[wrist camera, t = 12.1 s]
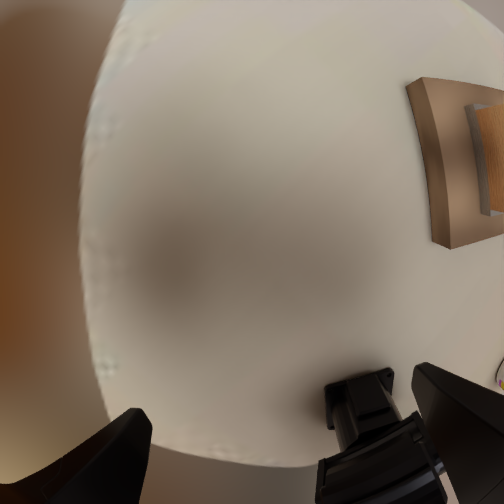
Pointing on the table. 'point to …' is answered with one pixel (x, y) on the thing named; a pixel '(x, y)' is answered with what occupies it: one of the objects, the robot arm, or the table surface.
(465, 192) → the walnut stand
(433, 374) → the robot arm
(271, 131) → the table surface
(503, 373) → the supplement bottle
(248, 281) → the table surface
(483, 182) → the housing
